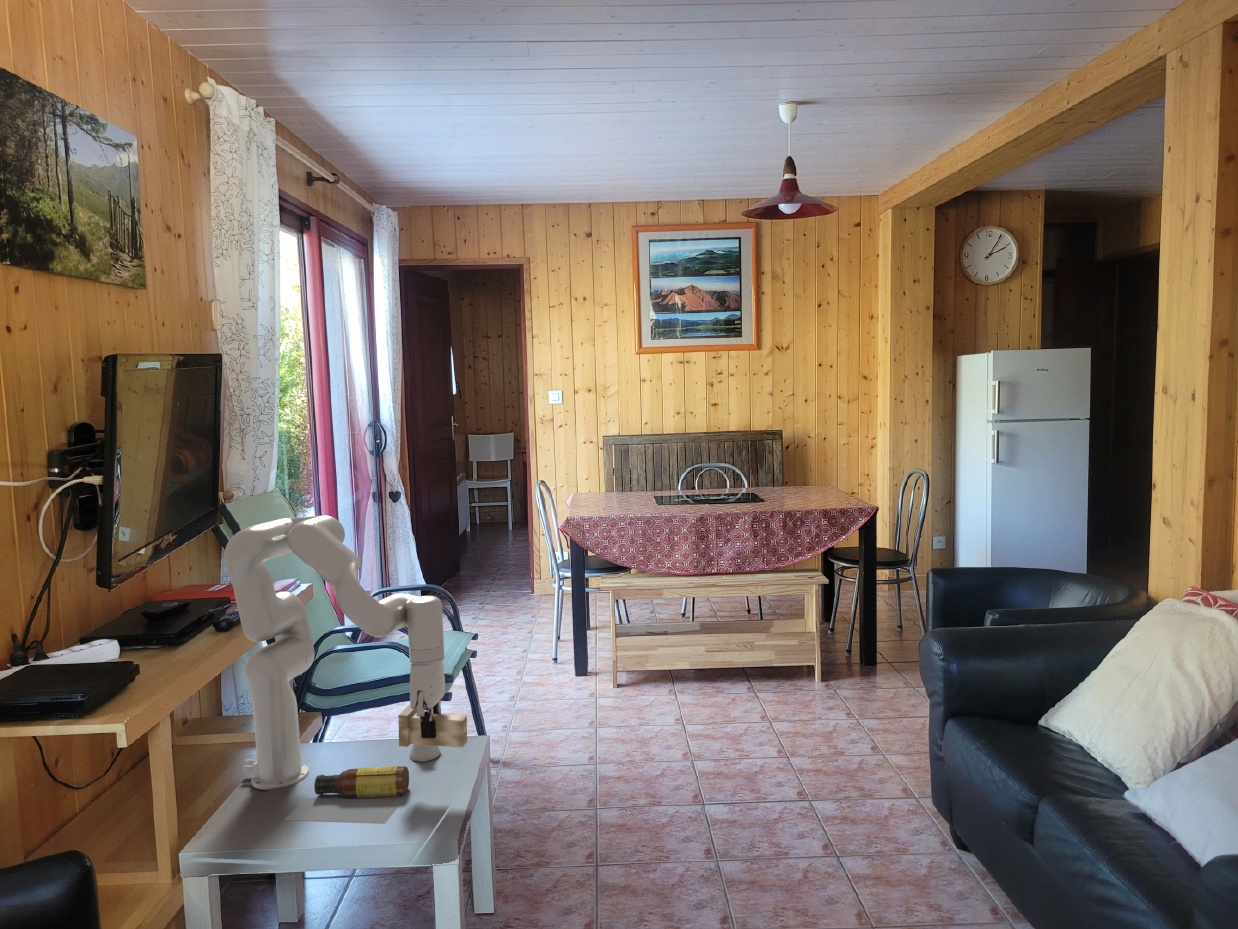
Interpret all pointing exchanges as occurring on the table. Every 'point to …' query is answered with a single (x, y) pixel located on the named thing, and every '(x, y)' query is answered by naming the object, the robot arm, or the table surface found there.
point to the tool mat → (344, 810)
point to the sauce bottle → (365, 782)
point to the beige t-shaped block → (447, 729)
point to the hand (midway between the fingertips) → (431, 733)
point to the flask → (424, 752)
